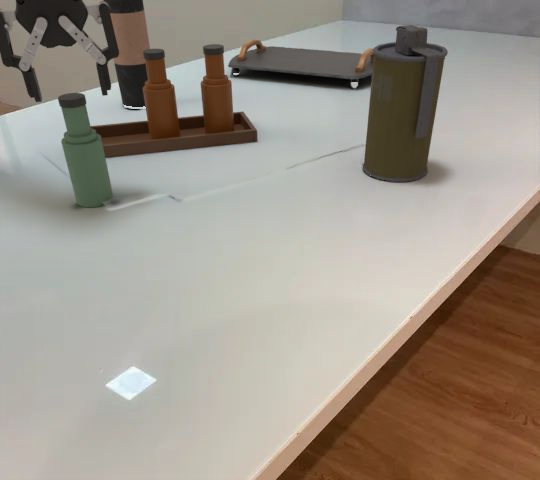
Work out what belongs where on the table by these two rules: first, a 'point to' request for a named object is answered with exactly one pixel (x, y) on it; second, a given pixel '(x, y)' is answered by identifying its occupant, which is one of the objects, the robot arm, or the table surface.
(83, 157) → the green bottle
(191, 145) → the row tray
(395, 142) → the canister
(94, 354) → the table surface
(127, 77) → the travel mug
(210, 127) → the amber bottle far
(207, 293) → the table surface
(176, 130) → the amber bottle mid
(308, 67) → the serving tray
